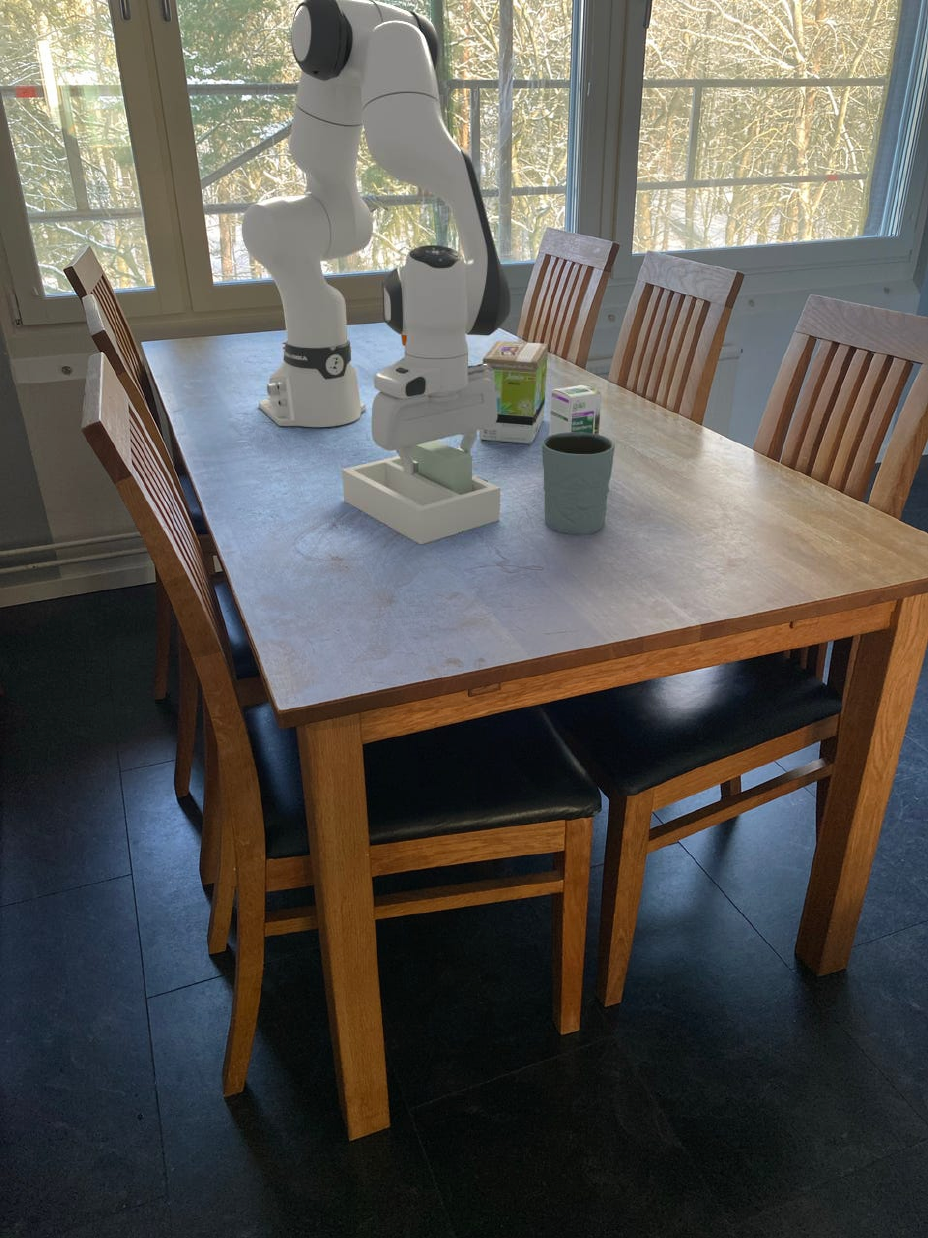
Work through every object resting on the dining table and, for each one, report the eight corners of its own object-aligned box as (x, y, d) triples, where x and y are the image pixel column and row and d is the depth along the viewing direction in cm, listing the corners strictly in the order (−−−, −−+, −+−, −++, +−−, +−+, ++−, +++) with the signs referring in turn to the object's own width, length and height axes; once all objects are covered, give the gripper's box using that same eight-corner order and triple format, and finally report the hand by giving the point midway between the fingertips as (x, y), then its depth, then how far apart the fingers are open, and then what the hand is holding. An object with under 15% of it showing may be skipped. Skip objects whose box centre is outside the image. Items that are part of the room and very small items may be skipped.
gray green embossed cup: (589, 542, 127) (596, 459, 122) (525, 526, 132) (528, 445, 126) (619, 518, 135) (626, 438, 129) (557, 504, 140) (562, 426, 134)
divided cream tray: (344, 500, 140) (342, 469, 138) (425, 479, 148) (424, 449, 146) (420, 544, 127) (420, 510, 124) (505, 518, 135) (506, 486, 132)
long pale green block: (405, 489, 142) (404, 439, 138) (425, 484, 144) (424, 434, 140) (452, 513, 133) (452, 460, 130) (472, 508, 135) (473, 455, 131)
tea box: (534, 445, 164) (538, 360, 156) (478, 441, 165) (479, 357, 158) (545, 420, 177) (548, 341, 169) (493, 416, 178) (494, 338, 171)
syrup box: (566, 487, 145) (571, 396, 138) (546, 476, 150) (550, 387, 143) (596, 481, 148) (603, 391, 141) (575, 470, 152) (581, 382, 145)
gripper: (480, 357, 137) (479, 446, 144) (363, 378, 126) (368, 474, 133) (507, 365, 133) (505, 457, 139) (389, 388, 122) (392, 487, 128)
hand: (437, 466), depth 136 cm, fingers open, 8 cm apart
